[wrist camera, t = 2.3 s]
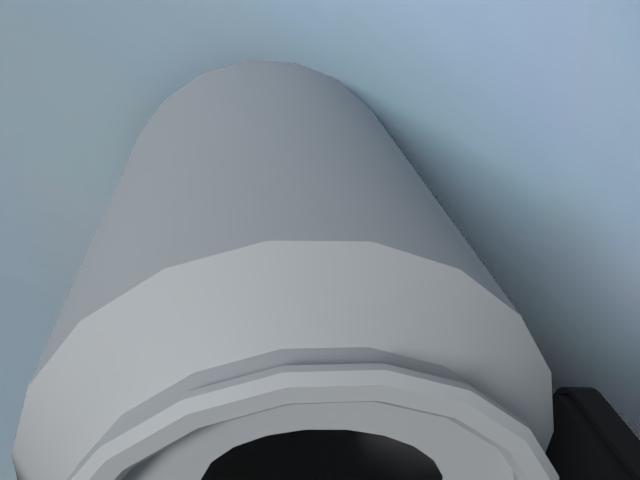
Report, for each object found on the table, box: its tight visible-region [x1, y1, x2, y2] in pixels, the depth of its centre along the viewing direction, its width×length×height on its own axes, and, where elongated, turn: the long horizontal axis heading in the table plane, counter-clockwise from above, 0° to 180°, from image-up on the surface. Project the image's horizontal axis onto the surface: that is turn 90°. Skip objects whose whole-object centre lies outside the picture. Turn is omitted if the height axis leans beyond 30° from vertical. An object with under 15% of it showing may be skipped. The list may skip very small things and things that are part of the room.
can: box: [12, 61, 559, 480], centre depth 12 cm, size 8×8×12 cm
